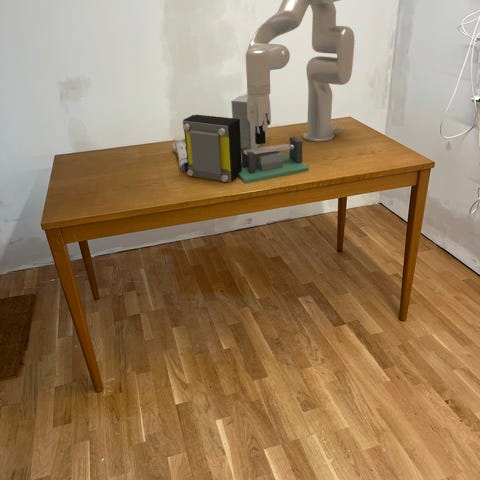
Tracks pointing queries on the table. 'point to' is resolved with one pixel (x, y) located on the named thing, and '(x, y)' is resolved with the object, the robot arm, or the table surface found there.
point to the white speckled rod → (181, 152)
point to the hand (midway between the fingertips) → (260, 143)
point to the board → (273, 173)
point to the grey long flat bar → (270, 148)
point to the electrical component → (213, 147)
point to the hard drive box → (244, 122)
